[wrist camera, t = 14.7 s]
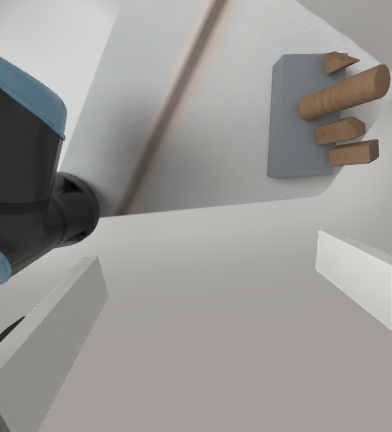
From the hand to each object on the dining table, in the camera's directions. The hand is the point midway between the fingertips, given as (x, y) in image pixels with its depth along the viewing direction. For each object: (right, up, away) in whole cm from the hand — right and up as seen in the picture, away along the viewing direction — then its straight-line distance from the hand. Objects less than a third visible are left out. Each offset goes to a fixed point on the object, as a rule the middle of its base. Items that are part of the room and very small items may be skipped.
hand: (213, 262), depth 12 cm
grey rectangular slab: (+19, +21, +27) cm, 39 cm away
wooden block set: (+22, +21, +23) cm, 38 cm away
